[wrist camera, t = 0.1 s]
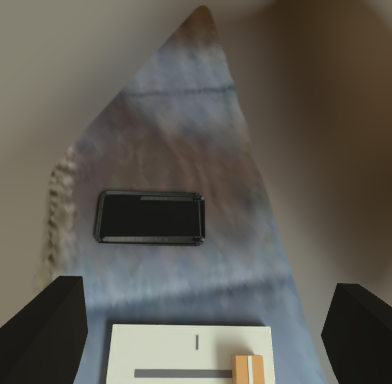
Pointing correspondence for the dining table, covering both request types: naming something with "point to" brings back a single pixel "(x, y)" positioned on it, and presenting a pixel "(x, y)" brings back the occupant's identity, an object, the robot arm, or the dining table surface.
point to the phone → (151, 219)
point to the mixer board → (184, 353)
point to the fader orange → (247, 369)
